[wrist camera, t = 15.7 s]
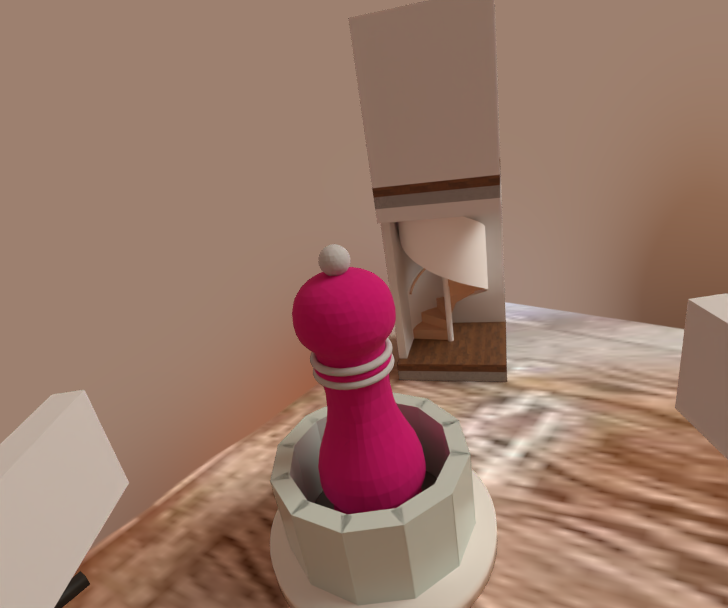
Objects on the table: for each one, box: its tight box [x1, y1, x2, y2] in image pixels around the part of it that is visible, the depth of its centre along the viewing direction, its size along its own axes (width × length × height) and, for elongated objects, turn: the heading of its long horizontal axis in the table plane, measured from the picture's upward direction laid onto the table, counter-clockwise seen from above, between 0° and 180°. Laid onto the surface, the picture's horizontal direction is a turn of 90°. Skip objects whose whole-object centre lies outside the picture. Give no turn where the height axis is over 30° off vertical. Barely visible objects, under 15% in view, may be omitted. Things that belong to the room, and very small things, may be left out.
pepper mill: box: [292, 245, 426, 515], centre depth 30 cm, size 7×7×20 cm
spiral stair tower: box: [348, 0, 507, 382], centre depth 48 cm, size 11×11×35 cm
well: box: [270, 392, 497, 608], centre depth 33 cm, size 16×16×8 cm
